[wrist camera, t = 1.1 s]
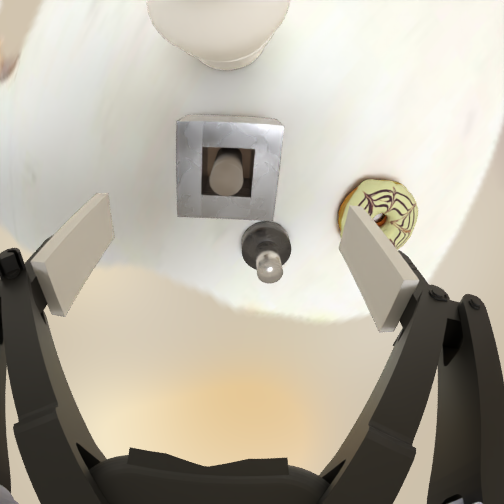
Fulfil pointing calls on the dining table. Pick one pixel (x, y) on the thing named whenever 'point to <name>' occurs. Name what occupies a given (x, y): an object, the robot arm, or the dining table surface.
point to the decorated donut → (384, 208)
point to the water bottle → (219, 28)
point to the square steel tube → (228, 136)
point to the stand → (228, 169)
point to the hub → (266, 250)
